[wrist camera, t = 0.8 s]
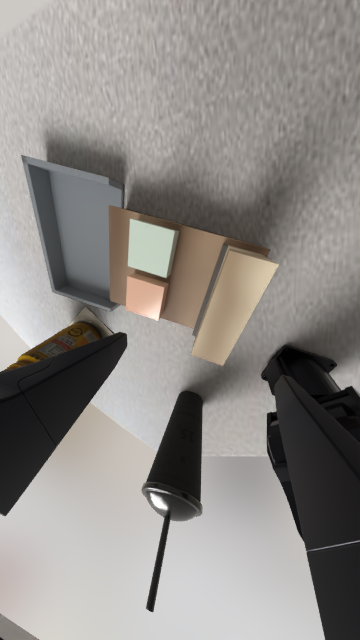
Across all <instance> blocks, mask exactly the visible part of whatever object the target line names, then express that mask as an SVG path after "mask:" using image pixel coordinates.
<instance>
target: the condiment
mask: <svg viewBox="0 0 360 640" xmlns="http://www.w3.org/2000/svg"><path fill="white" fill-rule="evenodd" d="M88 321H89V322H88ZM90 321H91V322H90ZM110 335H113V333H112V332H111V331H110V330H109V329H108V328H107V327H106V326H105V325H104V324H103V323H102V322H101V321H100V320H99V319H98V318H97V317H96V316H95V315H94V314H93V313H92V312H91V311H89V310H88V309H87V308H86V307H84V308H83V309H82V311H81V312H80V313H79V314H78V315H77V316H76V317H75V319H74V320H73V321H72V322H71V323H70V324H69V326H68V327H67V328H65V329H63V330H62V331H60V332H58V333H57V334H55V335H54V336H52V337H50V338H49V339H47V340H45V341H44V342H42V343H41V344H39V345H37V346H36V347H34V348H32V349H31V350H29V351H28V352H26V353H24V354H22V355H21V356H20V357H19V359H18V361H17V363H14V364H12V365H10V366H9V367H8V368H7V369H5V370H4V371H1V372H0V373H3V372H6V371H10V370H13V369H16V368H19V367H23V366H26V365H29V364H32V363H35V362H38V361H41V360H44V359H47V358H49V357H52V356H55V355H56V356H57V355H58V354H60V353H63V352H66V351H69V350H72V349H74V348H77V347H80V346H83V345H85V344H88V343H91V342H94V341H96V340H99V339H102V338H105V337H107V336H110Z"/></svg>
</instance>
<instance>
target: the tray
mask: <svg viewBox="0 0 360 640" xmlns="http://www.w3.org/2000/svg"><path fill="white" fill-rule="evenodd" d="M21 156H22V161H23V165H24V170H25V174H26V178H27V183H28V187H29V192H30V196H31V200H32V205H33V209H34V214H35V218H36V222H37V227H38V231H39V236H40V240H41V244H42V249H43V253H44V258H45V262H46V266H47V271H48V275H49V280H50V284H51V288H52V292H54V293H56V294H59V295H62V296H65V297H68V298H71V299H74V300H77V301H80V302H83V303H86V304H89V305H92V306H95V307H98V308H101V309H104V310H107V311H110V312H111V311H112V310H114V309H115V308H117V307H118V306H119V305H121V304H118V303H115V302H112V301H110V265H109V205H111V206H115V207H119V208H123V200H124V185H123V184H121V183H119V182H117V181H115V180H113V179H110V178H108V177H104V176H100V175H96V174H93V173H89V172H85V171H81V170H77V169H73V168H69V167H66V166H62V165H58V164H54V163H50V162H46V161H43V160H39V159H35V158H31V157H27V156H23V155H21Z"/></svg>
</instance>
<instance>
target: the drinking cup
mask: <svg viewBox="0 0 360 640" xmlns="http://www.w3.org/2000/svg"><path fill="white" fill-rule="evenodd" d="M202 407H203V401H202V399H201V397H200V396H198V395H197V394H195V393H192V392H182V393H180V394H179V396H178V398H177V401H176V404H175V406H174V409H173V412H172V414H171V417H170V420H169V422H168V425H167V428H166V430H165V433H164V436H163V438H162V441H161V444H160V446H159V449H158V452H157V454H156V457H155V460H154V463H153V465H152V468H151V471H150V473H149V476H148V479H147V481H146V483H144V484H143V486H142V493H143V495H144V496H145V497H146V498H147V500H148V502H149V504H150V505H151V507H152V508H153V509H154V510H155V511H156V512H157V513H159V514H160V515H161V516H163V517H164V523H163V528H162V533H161V538H160V542H159V548H158V552H157V557H156V562H155V567H154V572H153V577H152V582H151V586H150V591H149V596H148V601H147V606H146V609H147V610H149V611H151V612H153V611H154V605H155V600H156V595H157V589H158V584H159V578H160V573H161V567H162V562H163V556H164V550H165V545H166V540H167V534H168V529H169V524H170V520H172V521H186V520H189V519H192V518H193V517H197V516H200V515H201V514H202V505H201V503H200V498H201V454H202Z"/></svg>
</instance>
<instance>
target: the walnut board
mask: <svg viewBox="0 0 360 640" xmlns="http://www.w3.org/2000/svg"><path fill="white" fill-rule="evenodd" d="M130 219H137V220H141V221H145V222H148V223H152V224H155V225H159V226H163V227H166V228H170V229H173V230H177V231H179V234H178V239H177V245H176V250H175V255H174V260H173V265H172V270H171V274H170V275H169V276H168V277H167V278H165V277H161V276H158V275H155V274H152V273H148V272H145V271H142V270H139V269H135V268H132V267H129V266H128V250H129V229H130ZM223 244H227V245H230V246H234V247H238V248H241V249H245V250H248V251H252V252H256V253H259V254H262V255H264V256H265V257H267V255H268V253H269V251H270V249H267V248H265V247H262V246H258V245H255V244H251V243H247V242H244V241H240V240H237V239H233V238H229V237H226V236H222V235H218V234H215V233H211V232H207V231H204V230H200V229H197V228H193V227H189V226H186V225H182V224H178V223H175V222H171V221H168V220H164V219H160V218H157V217H153V216H149V215H146V214H142V213H138V212H135V211H131V210H128V209H124V208H119V207H115V206H111V205H109V265H110V301H112V302H115V303H118V304H121V305H124V306H126V293H127V276H128V275H131V274H133V273H137V274H140V275H143V276H147V277H150V278H153V279H156V280H159V281H163V282H166V283H169V285H168V290H167V295H166V300H165V305H164V310H163V315H162V316H161V318H163V319H166V320H169V321H172V322H175V323H178V324H181V325H184V326H187V327H190V328H193V329H194V327H195V324H196V321H197V318H198V316H199V313H200V310H201V307H202V304H203V301H204V298H205V295H206V292H207V289H208V286H209V283H210V281H211V278H212V275H213V272H214V269H215V266H216V263H217V260H218V257H219V254H220V251H221V248H222V246H223Z"/></svg>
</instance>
